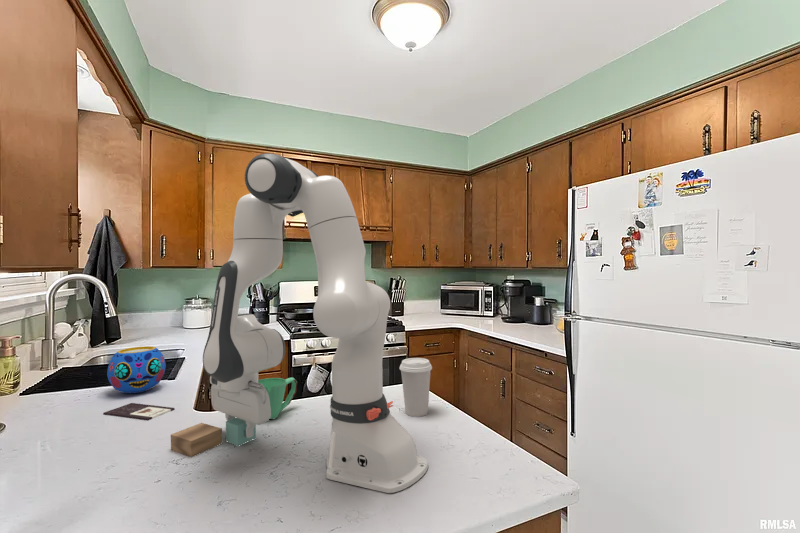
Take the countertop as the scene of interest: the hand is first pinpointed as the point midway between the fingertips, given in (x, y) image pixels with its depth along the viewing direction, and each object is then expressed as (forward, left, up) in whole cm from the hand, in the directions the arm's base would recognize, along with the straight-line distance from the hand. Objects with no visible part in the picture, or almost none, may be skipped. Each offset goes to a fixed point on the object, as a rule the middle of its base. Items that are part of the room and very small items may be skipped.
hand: (241, 433), depth 100 cm
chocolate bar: (+45, +5, -2) cm, 45 cm away
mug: (+7, -16, -2) cm, 18 cm away
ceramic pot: (+69, -4, -2) cm, 69 cm away
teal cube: (0, 0, -2) cm, 2 cm away
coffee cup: (-27, -39, -2) cm, 47 cm away
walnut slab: (+6, +8, -2) cm, 10 cm away
